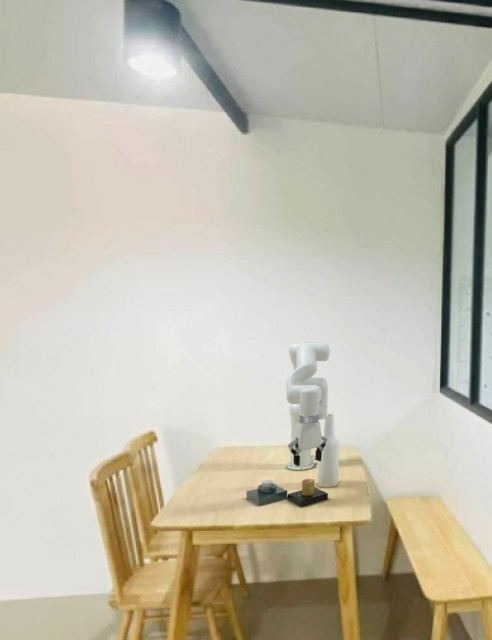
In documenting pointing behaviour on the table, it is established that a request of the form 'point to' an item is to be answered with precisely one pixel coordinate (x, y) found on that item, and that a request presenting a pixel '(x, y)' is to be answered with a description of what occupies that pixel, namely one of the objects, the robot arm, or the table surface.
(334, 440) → the alcohol
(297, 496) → the dial plate
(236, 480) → the table surface
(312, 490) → the dial
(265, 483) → the light grey short cylinder
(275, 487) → the push button box
